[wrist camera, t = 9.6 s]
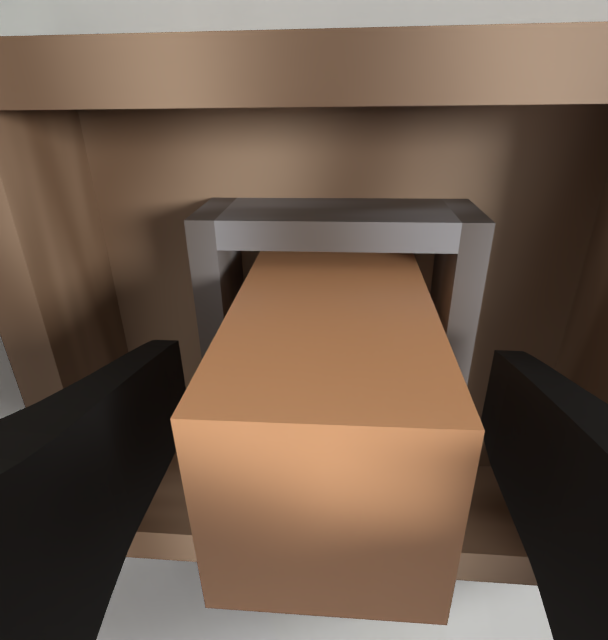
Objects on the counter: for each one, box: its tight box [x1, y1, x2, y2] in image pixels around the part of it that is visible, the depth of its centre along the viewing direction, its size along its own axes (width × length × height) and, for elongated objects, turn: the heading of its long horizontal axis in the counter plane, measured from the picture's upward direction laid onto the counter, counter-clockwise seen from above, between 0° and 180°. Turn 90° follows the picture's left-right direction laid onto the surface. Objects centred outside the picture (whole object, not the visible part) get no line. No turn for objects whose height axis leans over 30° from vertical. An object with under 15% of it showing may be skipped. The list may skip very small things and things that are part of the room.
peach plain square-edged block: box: [170, 251, 485, 625], centre depth 10 cm, size 4×4×8 cm
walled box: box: [0, 22, 608, 586], centre depth 13 cm, size 16×14×4 cm
